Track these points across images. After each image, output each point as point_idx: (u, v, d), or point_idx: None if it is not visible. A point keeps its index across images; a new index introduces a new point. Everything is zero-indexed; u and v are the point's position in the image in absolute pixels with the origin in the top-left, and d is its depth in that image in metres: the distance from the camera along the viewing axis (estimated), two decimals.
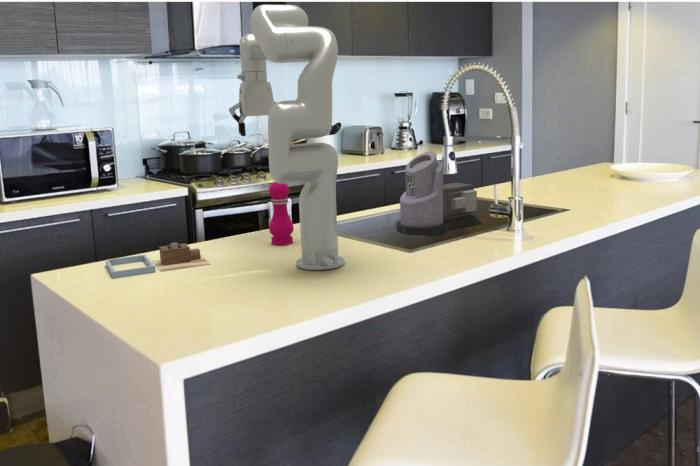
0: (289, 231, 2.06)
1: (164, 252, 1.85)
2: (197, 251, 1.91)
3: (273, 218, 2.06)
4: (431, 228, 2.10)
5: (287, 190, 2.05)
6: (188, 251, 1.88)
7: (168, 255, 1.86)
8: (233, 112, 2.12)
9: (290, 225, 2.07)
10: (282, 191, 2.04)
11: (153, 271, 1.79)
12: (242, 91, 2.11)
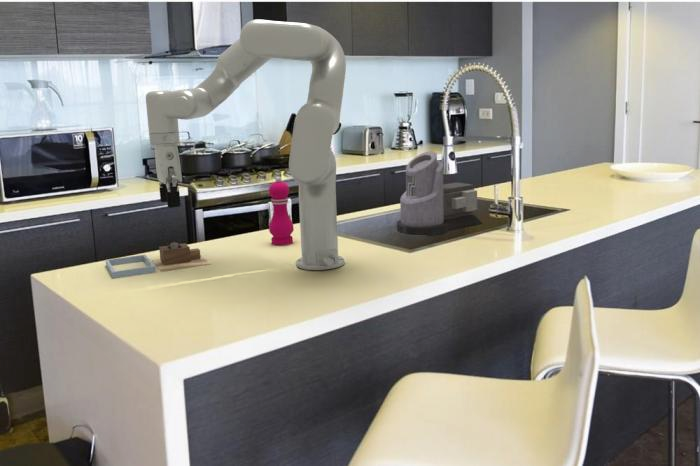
0: (289, 231, 2.06)
1: (164, 252, 1.85)
2: (197, 251, 1.91)
3: (273, 218, 2.06)
4: (431, 228, 2.11)
5: (287, 190, 2.05)
6: (188, 251, 1.88)
7: (168, 255, 1.86)
8: None
9: (290, 225, 2.07)
10: (282, 191, 2.04)
11: (153, 271, 1.79)
12: (176, 155, 1.80)
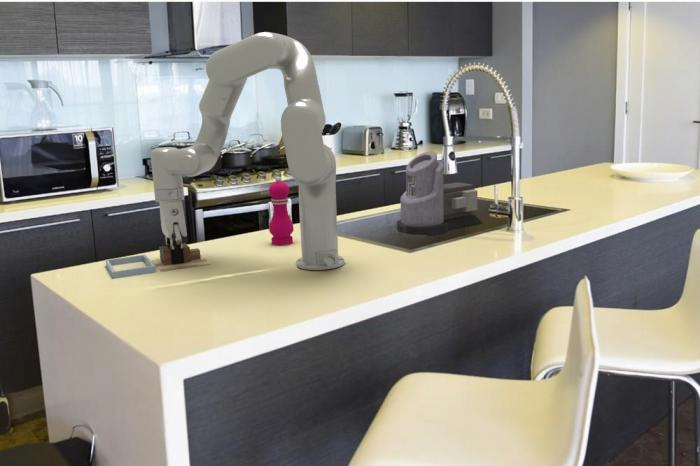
0: (289, 231, 2.06)
1: (164, 252, 1.85)
2: (197, 251, 1.91)
3: (273, 218, 2.06)
4: (431, 227, 2.11)
5: (287, 190, 2.05)
6: (188, 251, 1.88)
7: (168, 255, 1.86)
8: None
9: (290, 225, 2.07)
10: (282, 191, 2.04)
11: (153, 271, 1.79)
12: (181, 210, 1.83)
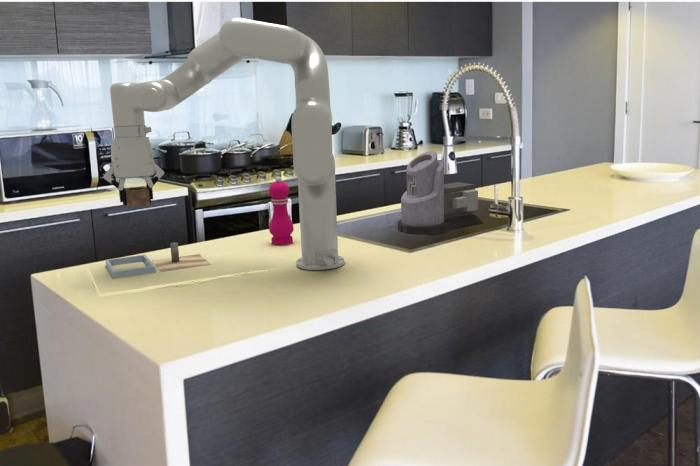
0: (289, 231, 2.06)
1: (148, 191, 1.79)
2: None
3: (273, 218, 2.06)
4: (431, 227, 2.11)
5: (287, 190, 2.05)
6: None
7: None
8: None
9: (290, 225, 2.07)
10: (282, 191, 2.04)
11: (153, 271, 1.79)
12: None
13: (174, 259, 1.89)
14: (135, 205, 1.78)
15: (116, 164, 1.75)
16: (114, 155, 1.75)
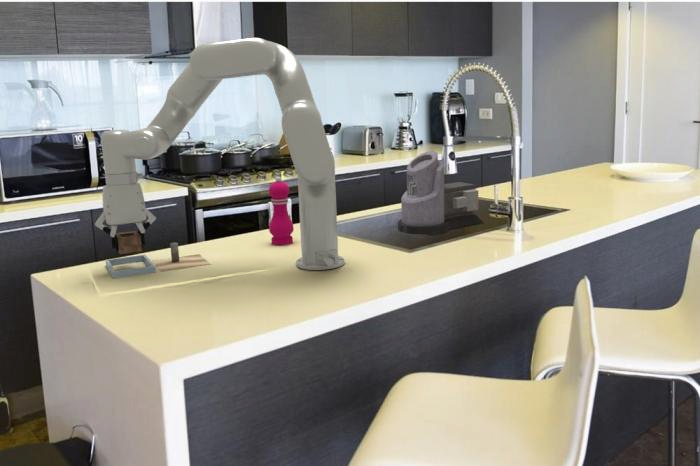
0: (289, 231, 2.06)
1: (140, 237, 1.79)
2: None
3: (273, 218, 2.06)
4: (431, 227, 2.12)
5: (287, 190, 2.05)
6: None
7: None
8: None
9: (290, 225, 2.07)
10: (282, 191, 2.04)
11: (153, 271, 1.79)
12: None
13: (174, 259, 1.89)
14: (127, 252, 1.78)
15: (108, 211, 1.75)
16: (106, 203, 1.75)
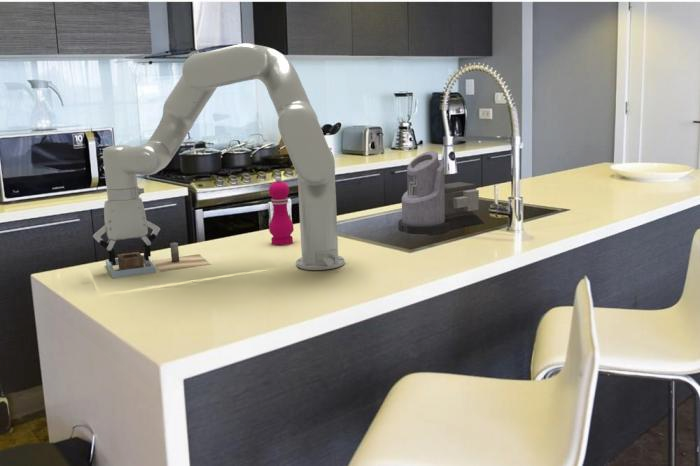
0: (289, 231, 2.06)
1: None
2: None
3: (273, 218, 2.06)
4: (432, 227, 2.12)
5: (287, 190, 2.05)
6: None
7: None
8: None
9: (290, 225, 2.07)
10: (282, 191, 2.04)
11: (153, 271, 1.79)
12: None
13: (174, 259, 1.89)
14: None
15: (109, 227, 1.76)
16: (107, 218, 1.76)
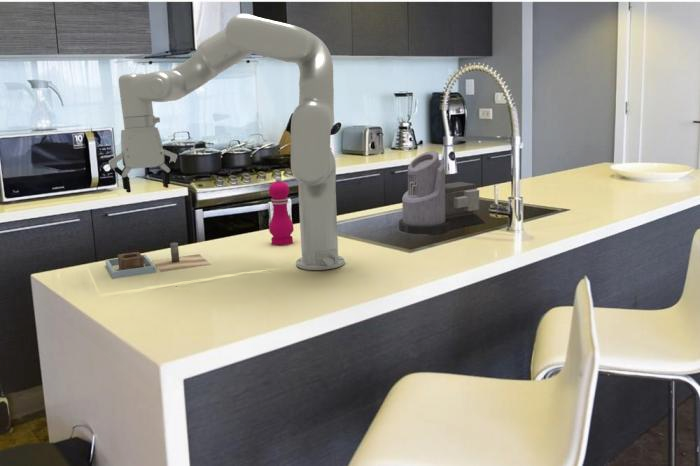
0: (289, 231, 2.06)
1: None
2: None
3: (273, 218, 2.06)
4: (432, 227, 2.12)
5: (287, 190, 2.05)
6: None
7: None
8: None
9: (290, 225, 2.07)
10: (282, 191, 2.04)
11: (153, 271, 1.79)
12: None
13: (174, 259, 1.89)
14: None
15: (127, 154, 1.78)
16: (125, 146, 1.78)
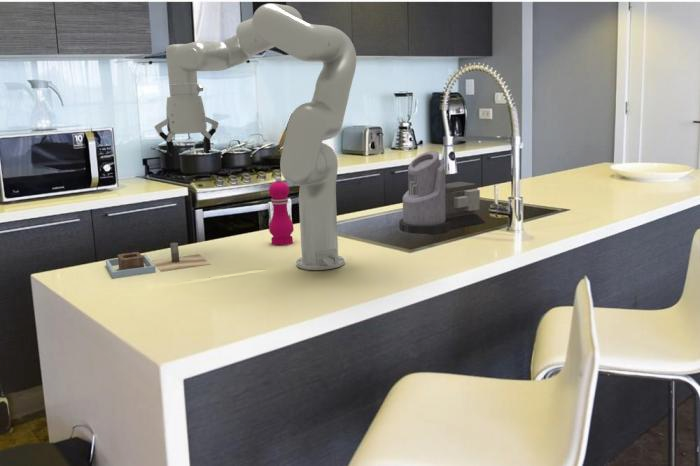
0: (289, 231, 2.06)
1: None
2: None
3: (273, 218, 2.06)
4: (432, 227, 2.12)
5: (287, 190, 2.05)
6: None
7: None
8: None
9: (290, 225, 2.07)
10: (282, 191, 2.04)
11: (153, 271, 1.79)
12: None
13: (174, 259, 1.89)
14: None
15: (172, 120, 1.88)
16: (170, 112, 1.88)
